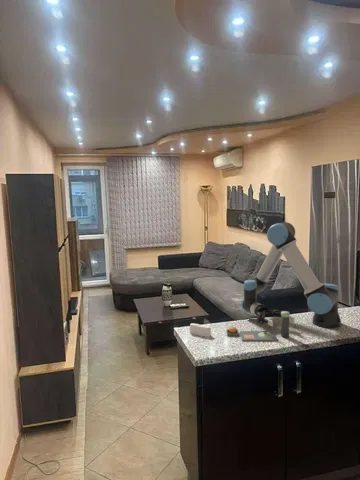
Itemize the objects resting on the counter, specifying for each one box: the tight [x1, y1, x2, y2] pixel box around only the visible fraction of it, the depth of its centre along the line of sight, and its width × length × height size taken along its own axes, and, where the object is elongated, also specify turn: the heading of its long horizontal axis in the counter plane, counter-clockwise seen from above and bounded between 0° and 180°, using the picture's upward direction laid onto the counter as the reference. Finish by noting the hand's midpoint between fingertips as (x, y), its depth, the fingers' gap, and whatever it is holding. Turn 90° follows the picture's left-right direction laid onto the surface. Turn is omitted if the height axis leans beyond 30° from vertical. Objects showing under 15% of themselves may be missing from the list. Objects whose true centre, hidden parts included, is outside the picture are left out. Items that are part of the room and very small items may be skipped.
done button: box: [228, 326, 237, 333], centre depth 190 cm, size 4×4×2 cm
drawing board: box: [239, 330, 279, 342], centre depth 185 cm, size 18×12×1 cm, turn 87°
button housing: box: [226, 328, 240, 337], centre depth 190 cm, size 6×6×2 cm
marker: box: [280, 310, 291, 339], centre depth 184 cm, size 4×4×13 cm
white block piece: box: [189, 323, 212, 338], centre depth 192 cm, size 15×11×6 cm
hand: (283, 321), depth 185 cm, fingers open, 13 cm apart
